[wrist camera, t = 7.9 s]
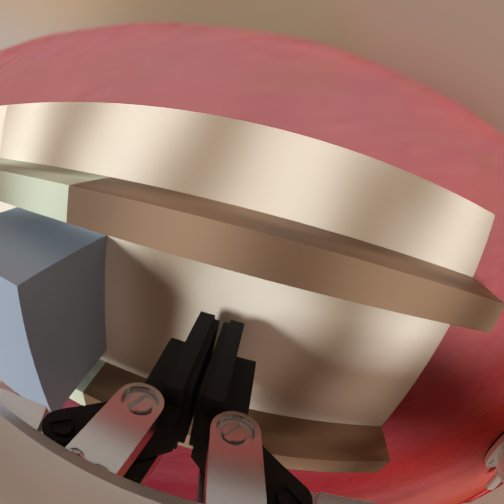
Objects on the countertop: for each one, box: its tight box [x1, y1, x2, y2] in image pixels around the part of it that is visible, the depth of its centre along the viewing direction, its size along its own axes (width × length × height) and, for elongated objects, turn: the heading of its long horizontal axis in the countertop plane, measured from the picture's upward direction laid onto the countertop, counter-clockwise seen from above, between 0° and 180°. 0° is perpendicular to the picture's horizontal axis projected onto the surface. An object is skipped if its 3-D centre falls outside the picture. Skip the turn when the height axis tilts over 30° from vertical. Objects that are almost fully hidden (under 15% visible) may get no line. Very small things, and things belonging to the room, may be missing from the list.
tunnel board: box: [0, 102, 504, 473], centre depth 11 cm, size 34×16×5 cm, turn 76°
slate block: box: [0, 207, 107, 411], centre depth 9 cm, size 6×6×5 cm
